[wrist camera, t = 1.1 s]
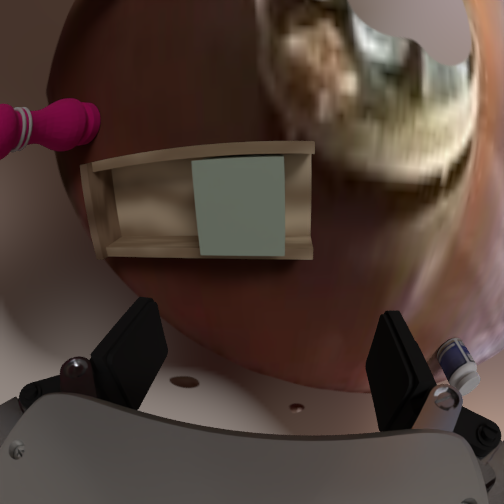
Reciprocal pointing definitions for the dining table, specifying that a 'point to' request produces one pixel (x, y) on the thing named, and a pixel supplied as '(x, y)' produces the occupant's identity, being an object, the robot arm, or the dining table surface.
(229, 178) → the grey-green block
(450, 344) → the pill bottle
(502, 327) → the dining table surface
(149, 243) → the bay
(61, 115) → the pepper mill
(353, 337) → the dining table surface
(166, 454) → the robot arm
